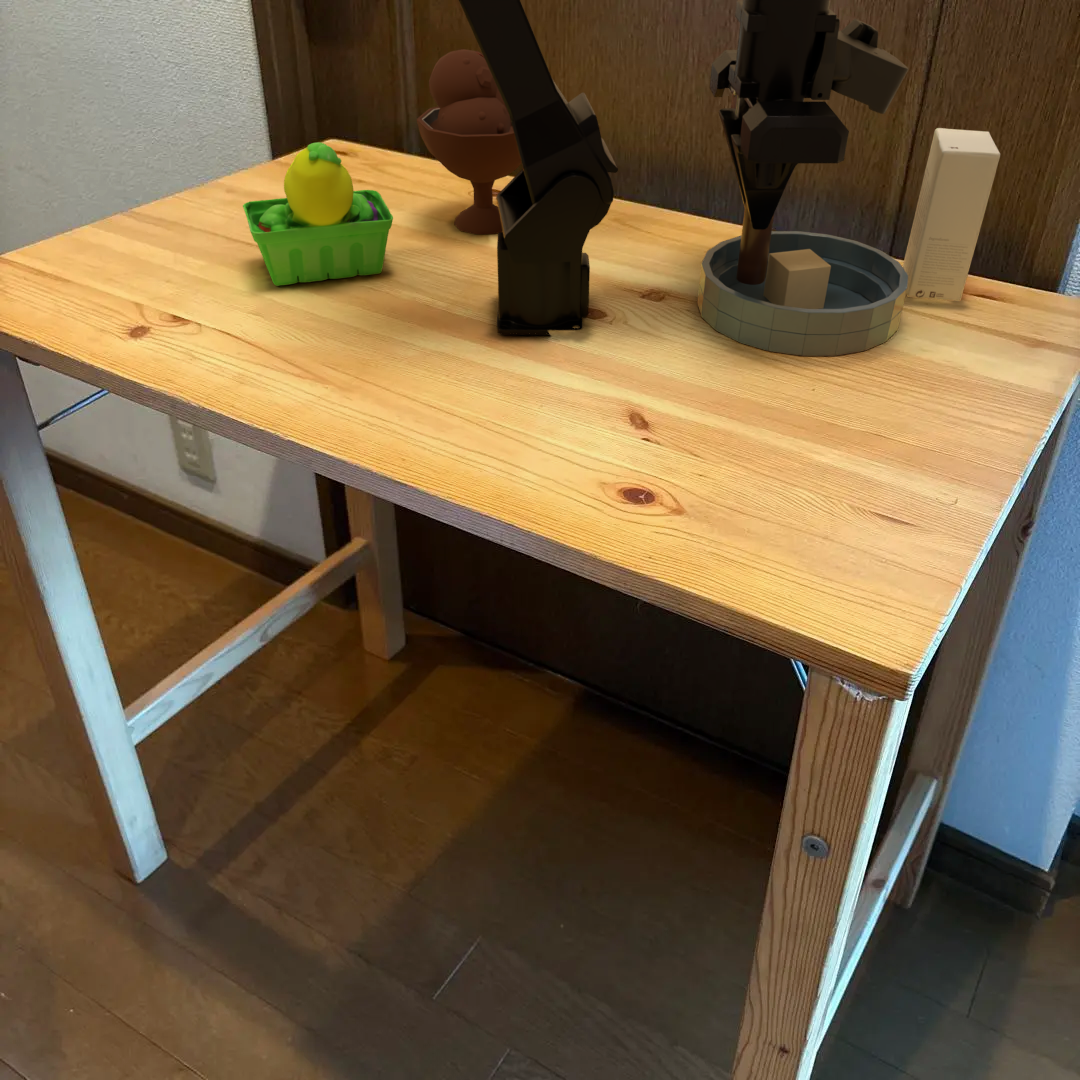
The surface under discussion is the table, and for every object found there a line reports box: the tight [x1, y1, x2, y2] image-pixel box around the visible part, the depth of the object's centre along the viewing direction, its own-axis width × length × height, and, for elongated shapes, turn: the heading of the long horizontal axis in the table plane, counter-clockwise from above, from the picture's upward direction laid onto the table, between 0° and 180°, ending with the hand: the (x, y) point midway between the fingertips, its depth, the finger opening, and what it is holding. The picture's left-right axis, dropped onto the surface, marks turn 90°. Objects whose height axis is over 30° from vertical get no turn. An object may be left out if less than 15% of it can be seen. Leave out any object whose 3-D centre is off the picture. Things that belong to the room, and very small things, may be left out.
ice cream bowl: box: [416, 48, 522, 235], centre depth 92 cm, size 11×11×15 cm
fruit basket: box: [242, 142, 394, 287], centre depth 84 cm, size 11×9×11 cm
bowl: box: [696, 230, 908, 357], centre depth 80 cm, size 15×15×4 cm
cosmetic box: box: [902, 127, 1001, 302], centre depth 81 cm, size 6×4×12 cm
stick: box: [736, 203, 775, 285], centre depth 77 cm, size 2×2×11 cm
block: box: [763, 249, 831, 309], centre depth 80 cm, size 4×4×4 cm
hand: (756, 222), depth 78 cm, fingers closed on stick, 2 cm apart
